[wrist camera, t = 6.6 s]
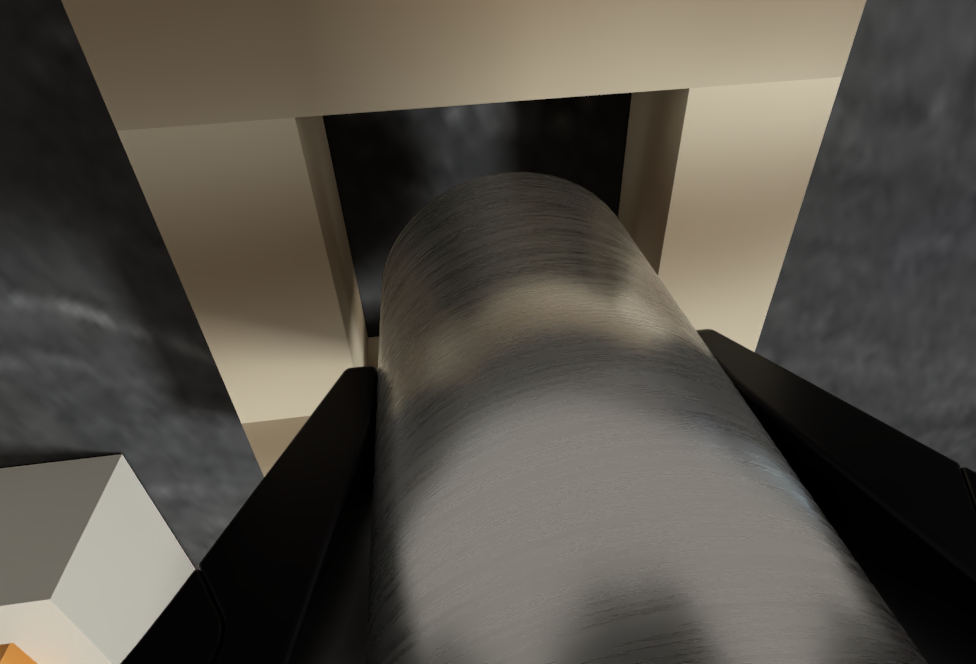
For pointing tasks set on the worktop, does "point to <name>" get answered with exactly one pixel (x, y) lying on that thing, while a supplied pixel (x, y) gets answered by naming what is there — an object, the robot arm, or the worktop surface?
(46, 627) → the box
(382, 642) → the cylinder
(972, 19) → the worktop surface
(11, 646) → the button
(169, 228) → the pocket plate
